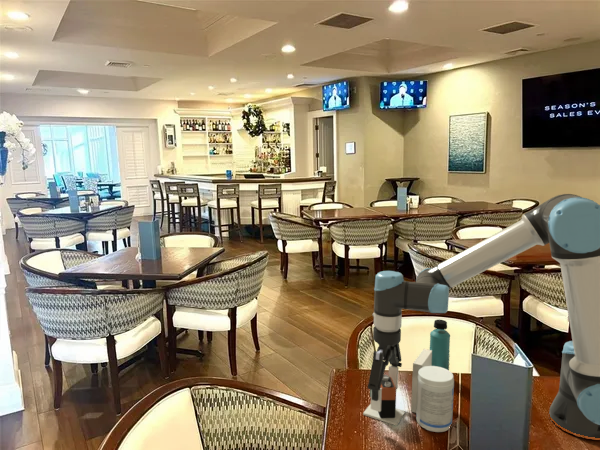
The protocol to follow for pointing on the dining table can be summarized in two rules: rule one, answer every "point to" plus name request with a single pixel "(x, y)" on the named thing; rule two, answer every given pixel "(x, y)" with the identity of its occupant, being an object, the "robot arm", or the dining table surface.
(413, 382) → the white u-shaped bracket
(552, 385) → the dining table surface
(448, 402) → the supplement tub
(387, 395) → the battery
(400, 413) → the mat
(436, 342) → the beverage bottle
